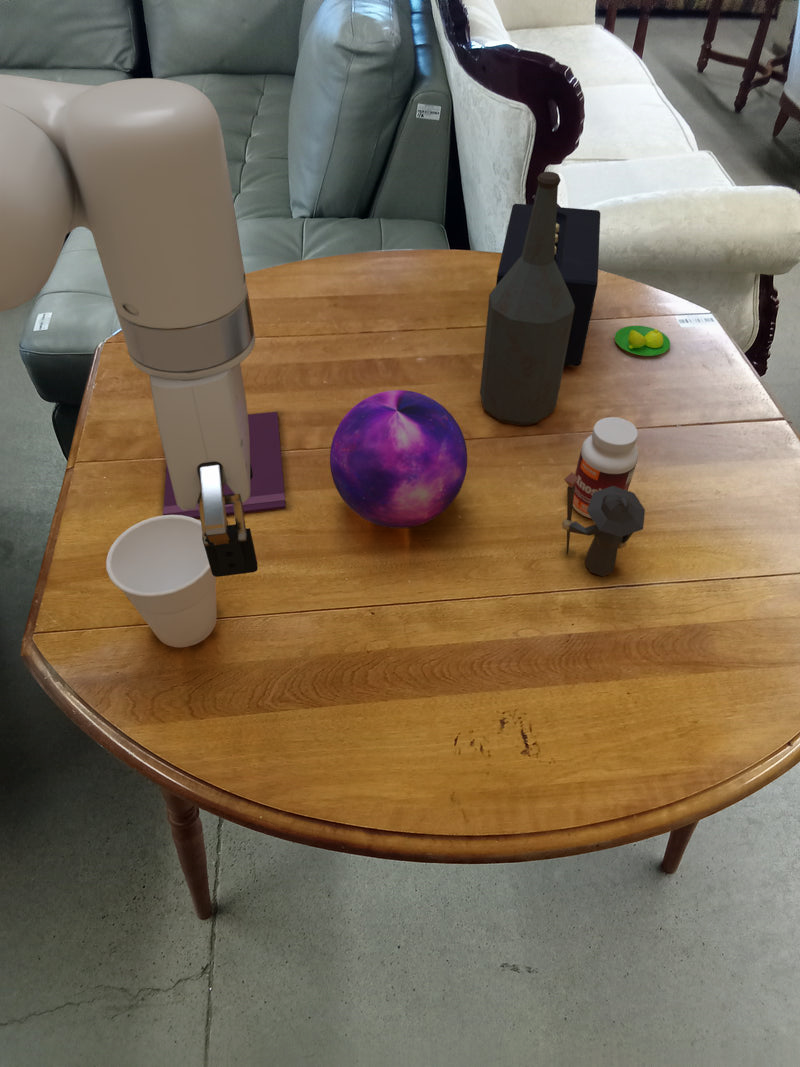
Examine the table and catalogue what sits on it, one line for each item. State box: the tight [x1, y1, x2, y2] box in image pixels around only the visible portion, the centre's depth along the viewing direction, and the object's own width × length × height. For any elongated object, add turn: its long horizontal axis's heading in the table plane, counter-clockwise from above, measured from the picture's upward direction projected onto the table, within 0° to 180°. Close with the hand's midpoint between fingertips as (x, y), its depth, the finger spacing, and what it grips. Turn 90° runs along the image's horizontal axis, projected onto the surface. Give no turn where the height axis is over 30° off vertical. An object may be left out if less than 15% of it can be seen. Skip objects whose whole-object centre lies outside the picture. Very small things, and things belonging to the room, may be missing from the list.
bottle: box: [479, 171, 575, 426], centre depth 91 cm, size 10×10×30 cm
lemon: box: [614, 325, 671, 357], centre depth 111 cm, size 8×8×3 cm
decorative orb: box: [329, 389, 468, 529], centre depth 83 cm, size 15×15×15 cm
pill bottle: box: [573, 416, 639, 520], centre depth 85 cm, size 6×6×11 cm
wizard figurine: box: [561, 471, 646, 577], centre depth 78 cm, size 8×6×12 cm
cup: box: [105, 514, 218, 648], centre depth 73 cm, size 10×10×11 cm
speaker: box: [495, 203, 601, 368], centre depth 109 cm, size 22×13×15 cm, turn 169°
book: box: [162, 411, 287, 520], centre depth 93 cm, size 14×18×1 cm
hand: (234, 523), depth 57 cm, fingers open, 9 cm apart
